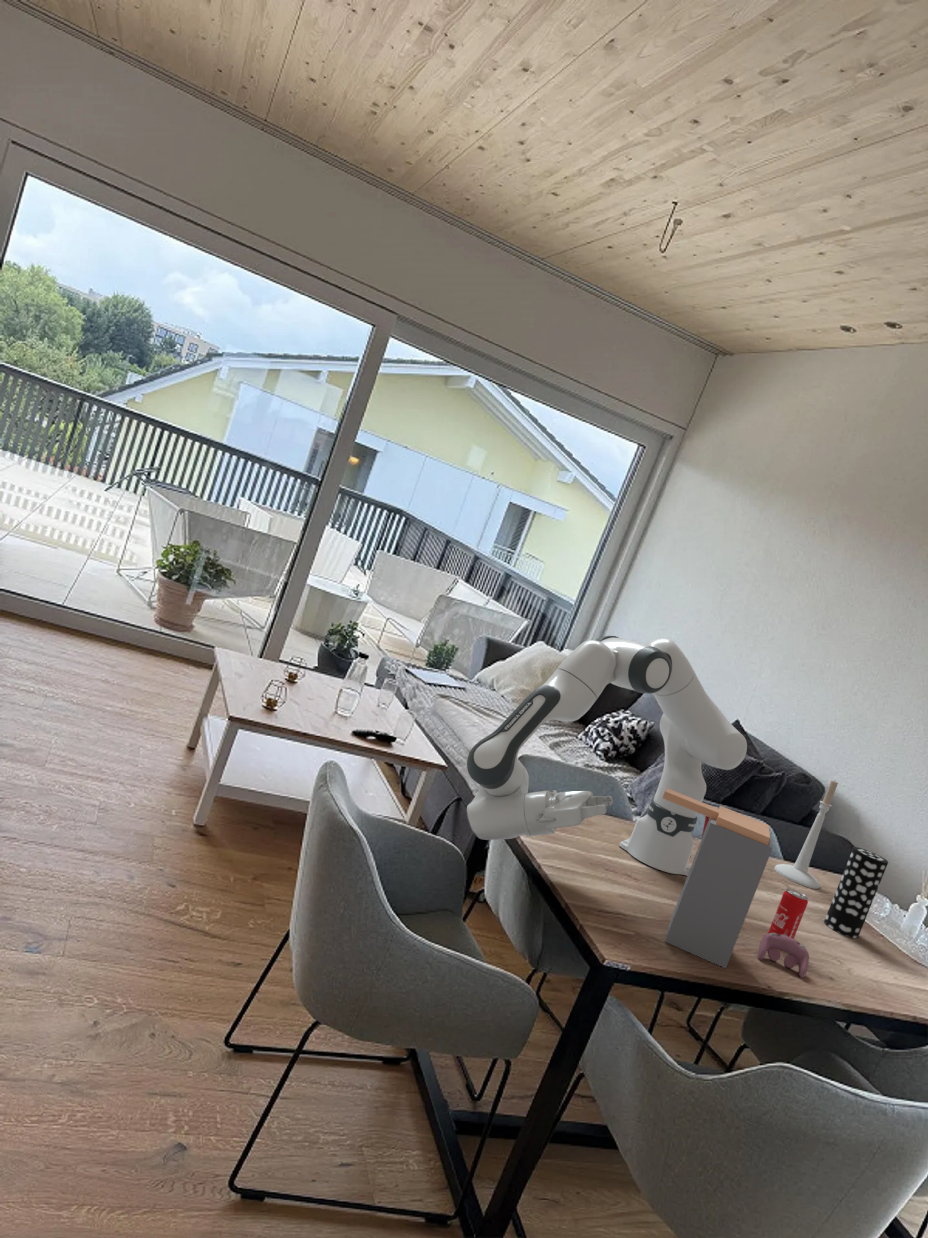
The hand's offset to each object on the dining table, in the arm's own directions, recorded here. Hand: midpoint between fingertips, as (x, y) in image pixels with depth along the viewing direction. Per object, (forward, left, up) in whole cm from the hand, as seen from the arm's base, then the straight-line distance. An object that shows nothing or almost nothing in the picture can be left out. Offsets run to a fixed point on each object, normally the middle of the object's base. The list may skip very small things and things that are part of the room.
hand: (609, 804), depth 194 cm
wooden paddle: (0, +20, +6) cm, 21 cm away
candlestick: (-92, +50, -19) cm, 106 cm away
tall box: (0, +25, -19) cm, 32 cm away
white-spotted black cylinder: (-57, +59, -19) cm, 84 cm away
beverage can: (-23, +42, -19) cm, 52 cm away
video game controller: (-10, +42, -20) cm, 48 cm away
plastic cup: (-78, +25, -19) cm, 84 cm away
